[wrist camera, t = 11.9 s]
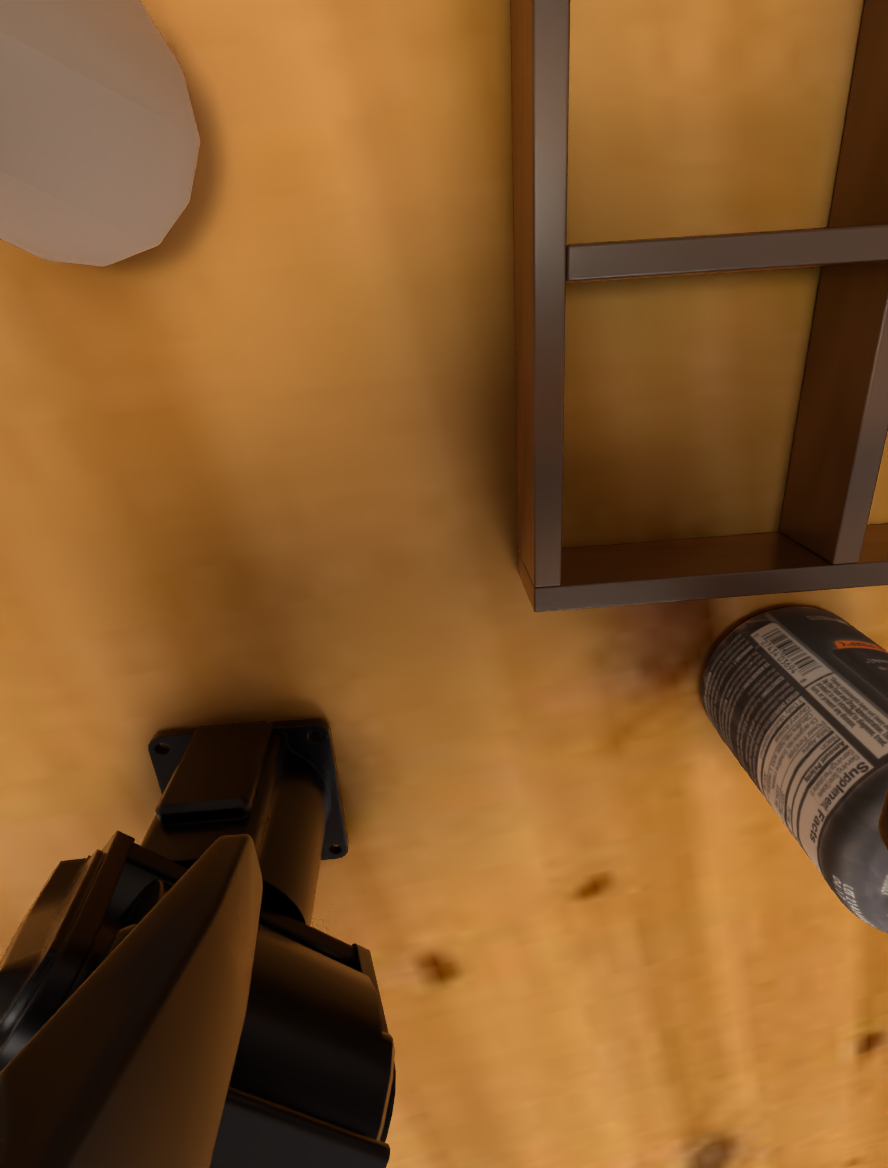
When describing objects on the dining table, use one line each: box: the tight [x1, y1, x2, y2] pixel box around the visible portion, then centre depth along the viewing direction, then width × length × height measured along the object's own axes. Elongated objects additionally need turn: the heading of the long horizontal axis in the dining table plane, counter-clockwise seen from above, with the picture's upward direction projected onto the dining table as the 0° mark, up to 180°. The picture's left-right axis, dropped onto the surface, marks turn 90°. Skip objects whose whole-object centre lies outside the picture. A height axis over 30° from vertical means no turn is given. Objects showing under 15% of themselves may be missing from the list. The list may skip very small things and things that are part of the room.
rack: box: [510, 0, 888, 612], centre depth 17 cm, size 18×18×3 cm
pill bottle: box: [701, 606, 888, 933], centre depth 19 cm, size 6×6×11 cm
